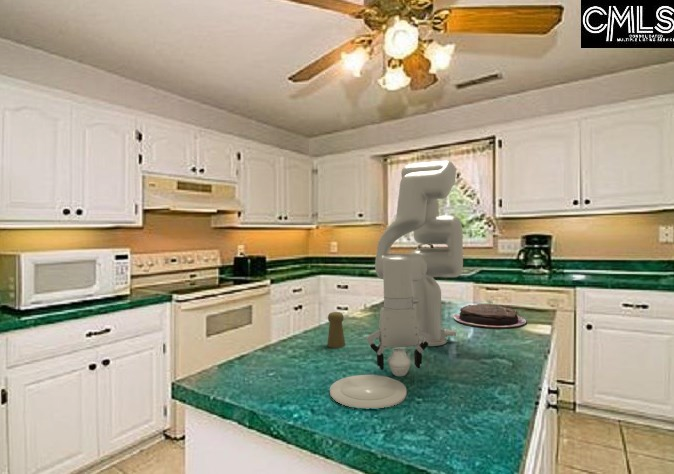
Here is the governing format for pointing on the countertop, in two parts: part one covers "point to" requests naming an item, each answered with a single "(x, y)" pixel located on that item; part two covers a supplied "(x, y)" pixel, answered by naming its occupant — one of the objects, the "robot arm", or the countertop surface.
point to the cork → (335, 330)
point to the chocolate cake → (489, 317)
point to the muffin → (399, 362)
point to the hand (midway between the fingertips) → (399, 367)
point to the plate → (368, 391)
